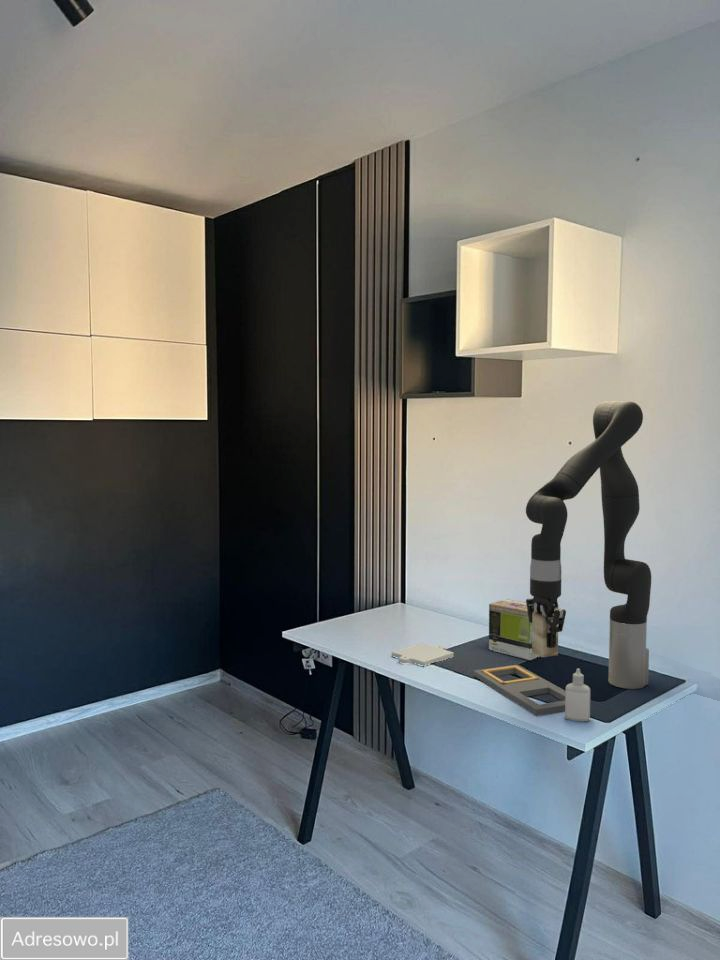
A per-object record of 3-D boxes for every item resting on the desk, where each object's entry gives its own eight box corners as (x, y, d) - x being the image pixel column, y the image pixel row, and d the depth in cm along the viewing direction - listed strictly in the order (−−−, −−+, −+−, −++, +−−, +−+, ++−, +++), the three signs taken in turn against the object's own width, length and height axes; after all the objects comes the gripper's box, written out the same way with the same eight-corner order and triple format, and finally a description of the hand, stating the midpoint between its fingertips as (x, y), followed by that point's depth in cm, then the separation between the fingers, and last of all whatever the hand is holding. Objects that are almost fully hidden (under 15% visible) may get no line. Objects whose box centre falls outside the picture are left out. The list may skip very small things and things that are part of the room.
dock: (517, 669, 210) (517, 663, 210) (585, 707, 182) (585, 700, 182) (473, 675, 205) (473, 669, 205) (536, 715, 177) (536, 707, 177)
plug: (547, 649, 188) (547, 610, 187) (557, 655, 184) (558, 615, 183) (532, 651, 187) (532, 612, 186) (542, 657, 182) (542, 617, 181)
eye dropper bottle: (582, 724, 172) (583, 674, 171) (561, 717, 176) (562, 668, 175) (593, 719, 175) (594, 669, 174) (572, 712, 179) (573, 664, 178)
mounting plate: (417, 670, 211) (417, 664, 211) (385, 660, 220) (385, 653, 220) (459, 657, 223) (459, 650, 223) (427, 647, 232) (427, 641, 232)
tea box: (548, 654, 224) (549, 605, 223) (529, 661, 217) (530, 611, 216) (506, 643, 235) (507, 597, 234) (487, 650, 228) (488, 602, 227)
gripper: (576, 581, 178) (575, 651, 180) (541, 570, 192) (541, 635, 193) (549, 583, 176) (549, 654, 177) (516, 572, 189) (516, 638, 190)
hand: (545, 644), depth 185 cm, fingers closed on plug, 4 cm apart
